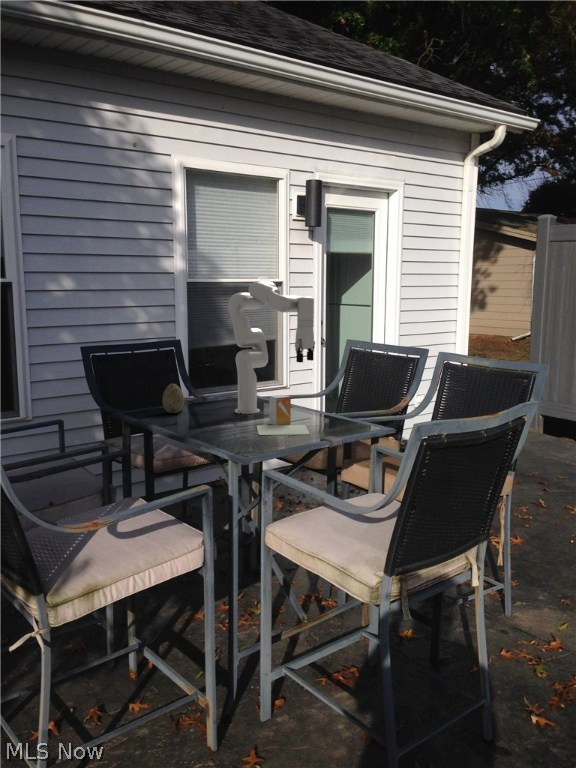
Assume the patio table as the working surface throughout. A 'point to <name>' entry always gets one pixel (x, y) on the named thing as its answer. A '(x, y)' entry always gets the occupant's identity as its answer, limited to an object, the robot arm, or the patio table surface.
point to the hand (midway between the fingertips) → (305, 361)
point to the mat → (282, 430)
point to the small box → (279, 410)
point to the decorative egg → (173, 399)
